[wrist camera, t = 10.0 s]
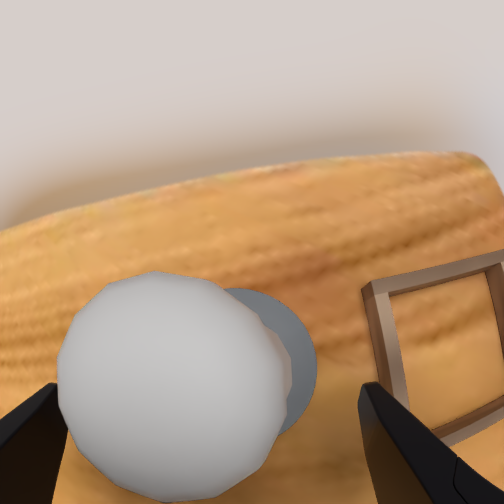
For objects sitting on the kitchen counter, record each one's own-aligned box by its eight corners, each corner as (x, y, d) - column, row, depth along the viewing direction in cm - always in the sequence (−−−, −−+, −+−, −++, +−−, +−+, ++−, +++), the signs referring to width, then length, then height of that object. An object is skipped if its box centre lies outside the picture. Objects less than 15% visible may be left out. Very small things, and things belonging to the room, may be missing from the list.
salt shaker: (262, 440, 15) (244, 595, 3) (167, 396, 16) (-16, 433, 4) (305, 343, 17) (397, 289, 4) (209, 303, 18) (89, 175, 5)
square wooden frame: (515, 398, 14) (533, 399, 13) (389, 457, 14) (401, 466, 13) (489, 258, 18) (504, 248, 16) (361, 289, 18) (371, 280, 16)
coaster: (240, 473, 15) (239, 476, 14) (128, 367, 17) (124, 367, 17) (347, 359, 17) (350, 359, 16) (230, 260, 19) (228, 256, 19)
